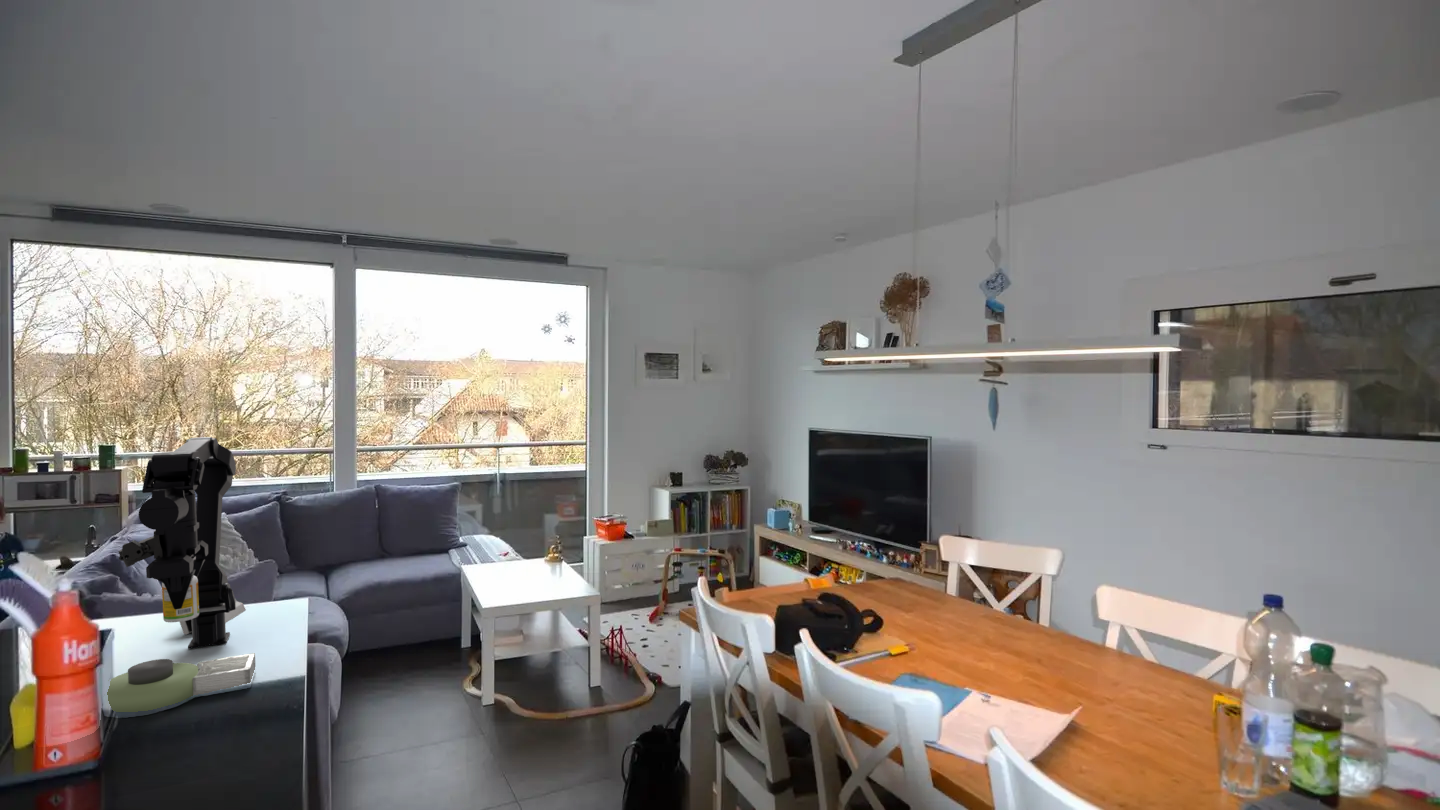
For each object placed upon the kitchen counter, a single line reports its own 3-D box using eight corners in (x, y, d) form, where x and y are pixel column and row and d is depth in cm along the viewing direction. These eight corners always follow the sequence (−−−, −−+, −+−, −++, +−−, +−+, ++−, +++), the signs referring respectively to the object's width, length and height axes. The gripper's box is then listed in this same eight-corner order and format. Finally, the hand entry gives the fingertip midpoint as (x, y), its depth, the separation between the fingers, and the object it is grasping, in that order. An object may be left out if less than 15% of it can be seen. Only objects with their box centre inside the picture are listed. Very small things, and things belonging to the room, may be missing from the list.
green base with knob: (114, 694, 129) (112, 660, 129) (205, 679, 135) (203, 646, 135) (91, 725, 118) (89, 687, 117) (191, 707, 123) (190, 671, 123)
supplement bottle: (178, 614, 141) (176, 562, 141) (206, 613, 141) (204, 562, 140) (155, 623, 136) (153, 569, 135) (184, 623, 135) (182, 569, 135)
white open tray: (199, 680, 134) (198, 661, 134) (255, 671, 138) (254, 652, 138) (190, 698, 127) (189, 678, 127) (250, 688, 131) (249, 668, 130)
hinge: (208, 633, 161) (189, 590, 160) (186, 642, 160) (167, 599, 159) (246, 609, 177) (229, 570, 176) (226, 617, 177) (209, 578, 176)
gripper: (136, 516, 143) (140, 598, 143) (106, 533, 126) (111, 626, 126) (207, 511, 147) (210, 590, 148) (187, 527, 131) (191, 615, 131)
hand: (181, 604), depth 138 cm, fingers closed on supplement bottle, 5 cm apart
